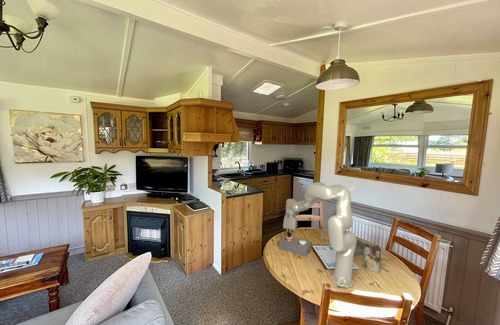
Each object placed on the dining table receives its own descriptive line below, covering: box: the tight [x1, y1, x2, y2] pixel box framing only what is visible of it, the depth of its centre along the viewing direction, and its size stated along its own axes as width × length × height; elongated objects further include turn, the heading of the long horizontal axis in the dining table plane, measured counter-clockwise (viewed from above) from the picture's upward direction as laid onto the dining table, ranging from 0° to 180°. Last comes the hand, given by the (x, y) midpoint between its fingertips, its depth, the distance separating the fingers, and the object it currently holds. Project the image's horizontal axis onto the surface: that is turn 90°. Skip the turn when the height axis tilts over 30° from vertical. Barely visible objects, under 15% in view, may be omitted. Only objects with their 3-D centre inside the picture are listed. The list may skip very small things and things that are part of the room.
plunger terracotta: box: [285, 234, 294, 242], centre depth 168 cm, size 6×6×6 cm
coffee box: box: [362, 242, 382, 273], centre depth 142 cm, size 9×6×16 cm
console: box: [278, 234, 313, 258], centre depth 165 cm, size 14×22×6 cm, turn 60°
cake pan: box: [354, 239, 364, 256], centre depth 170 cm, size 25×25×4 cm
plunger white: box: [299, 239, 306, 246], centre depth 162 cm, size 6×6×6 cm
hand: (289, 236), depth 168 cm, fingers closed
